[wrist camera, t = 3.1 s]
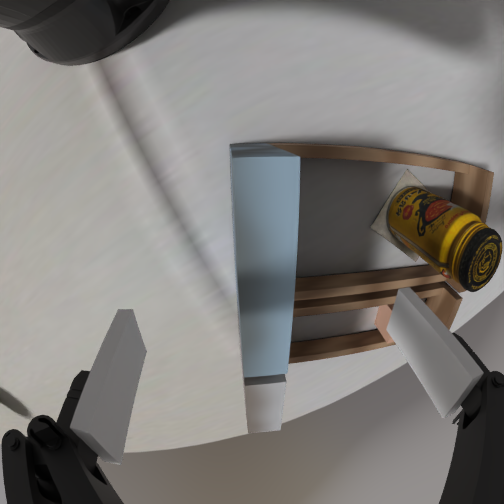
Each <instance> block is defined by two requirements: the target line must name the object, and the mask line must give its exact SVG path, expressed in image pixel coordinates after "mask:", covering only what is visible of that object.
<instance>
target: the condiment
mask: <svg viewBox="0 0 504 504" xmlns="http://www.w3.org/2000/svg"><path fill="white" fill-rule="evenodd" d="M370 228H372V229H373V230H374V231H376V232H377V233H379V234H380V235H381V236H383V237H384V238H385V239H387V240H388V241H389V242H391V243H392V244H393V245H395V246H396V247H397V248H399V249H400V250H401V251H403V252H404V253H405V254H406V255H408V256H409V257H410V258H412V259H413V260H414V261H415V262H416V261H417V259H418V258H419V256H420V257H421V258H422V259H424V260H425V261H426V262H427V263H428V264H430V265H431V266H432V267H433V268H434V269H435V270H437V271H438V272H439V273H440V274H441V275H443V276H444V277H446V278H448V279H454V281H456V282H457V283H459V284H460V285H461V286H462V287H463V288H464V289H465V290H468V291H470V292H476V291H478V290H480V289H481V288H483V287H484V286H485V285H486V284H487V283H488V282H489V281H490V279H491V278H492V277H493V275H494V274H495V272H496V269H497V268H498V265H499V263H500V259H501V254H502V240H501V238H500V235H499V234H498V233H497V232H496V231H495V230H494V229H491V228H489V227H488V226H487V225H486V224H484V223H482V222H481V220H480V218H479V217H478V216H477V215H475V214H474V213H472V212H470V211H468V210H466V209H464V208H462V207H460V206H458V205H456V204H454V203H452V202H450V201H448V200H445V199H443V198H441V197H439V196H437V195H435V194H433V193H430V192H429V191H428V190H427V189H426V188H425V187H424V185H423V184H422V183H421V182H420V181H419V180H418V179H417V178H416V177H415V176H414V175H413V174H412V173H411V172H410V171H409V170H408V169H407V170H406V171H405V173H404V174H403V176H402V178H401V179H400V181H399V183H398V184H397V185H396V187H395V189H394V190H393V192H392V193H391V195H390V197H389V198H388V200H387V201H386V203H385V205H384V206H383V208H382V209H381V211H380V213H379V215H378V217H377V218H376V220H375V221H374V223H373V224H372V226H371V227H370Z"/></svg>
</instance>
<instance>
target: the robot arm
mask: <svg viewBox="0 0 504 504" xmlns="http://www.w3.org/2000/svg"><path fill="white" fill-rule="evenodd" d="M168 2H169V0H0V27H3V28H7V29H11V30H14V32H15V33H16V34H17V35H18V36H19V37H20V38H21V39H22V40H23V41H25V42H27V45H28V46H29V48H30V49H31V51H32V52H33V53H34V54H35V55H37V56H38V57H40V58H41V59H43V60H45V61H49V62H52V63H56V64H60V65H67V66H73V65H82V64H87V63H90V62H93V61H96V60H99V59H101V58H104V57H106V56H108V55H110V54H112V53H114V52H116V51H117V50H119V49H121V48H122V47H124V46H126V45H127V44H128V43H130V42H131V41H133V40H134V39H135V38H137V37H138V36H139V35H140V34H141V33H143V32H144V31H145V30H146V29H147V28H148V27H149V26H150V25H151V24H152V23H153V22H154V21H155V20H156V19H157V17H158V16H159V15H160V14H161V12H162V11H163V10H164V8H165V7H166V5H167V3H168ZM386 330H387V331H388V333H389V334H390V336H391V337H392V339H393V340H394V342H395V343H396V345H397V346H398V348H399V349H400V351H401V352H402V354H403V355H404V357H405V358H406V360H407V361H408V363H409V364H410V366H411V367H412V369H413V371H414V372H415V374H416V375H417V377H418V379H419V380H420V382H421V383H422V385H423V387H424V388H425V390H426V391H427V393H428V395H429V397H430V398H431V400H432V402H433V403H434V405H435V406H436V408H437V410H438V412H439V413H440V415H441V417H442V419H444V418H445V417H447V416H449V415H451V414H453V413H455V411H456V410H457V409H458V408H459V406H460V405H461V406H462V408H463V409H462V411H461V412H460V413H459V414H458V415H457V417H456V418H455V419H454V420H453V423H452V424H455V422H456V421H457V420H458V419H459V422H458V423H457V425H458V431H457V437H456V442H455V447H454V452H453V457H452V461H451V465H450V469H449V473H448V477H447V480H446V483H445V487H444V490H443V493H442V496H441V499H440V502H439V504H504V375H503V374H502V373H500V372H498V371H492V372H490V371H489V370H488V369H487V368H486V366H485V365H484V364H483V363H482V361H481V360H480V359H479V358H478V356H477V355H476V354H475V353H474V352H473V350H472V349H471V348H470V347H469V346H468V344H467V343H466V342H465V341H464V340H463V339H462V338H461V337H460V336H458V335H457V334H455V333H451V332H450V331H449V330H448V328H447V327H446V326H445V325H444V324H443V323H442V322H441V320H440V319H439V318H438V317H437V316H436V315H435V314H434V313H433V312H432V311H431V309H430V308H429V307H428V306H427V305H426V304H425V303H424V302H423V301H422V300H421V299H420V298H419V297H418V296H417V295H416V293H415V292H414V291H413V290H412V289H411V288H410V287H408V288H401V289H398V292H397V296H396V300H395V303H394V307H393V310H392V313H391V316H390V320H389V323H388V326H387V329H386ZM146 352H147V351H146V348H145V345H144V342H143V340H142V337H141V334H140V331H139V328H138V325H137V321H136V318H135V315H134V312H133V309H118V311H117V313H116V315H115V317H114V320H113V322H112V324H111V326H110V328H109V330H108V332H107V334H106V337H105V339H104V341H103V343H102V345H101V348H100V350H99V352H98V355H97V357H96V359H95V362H94V364H93V366H92V369H91V371H83V370H82V371H81V372H80V373H79V374H78V375H77V376H76V377H75V378H74V380H73V382H72V384H71V387H70V390H69V392H68V394H67V398H66V399H65V401H64V404H63V406H62V409H61V412H60V414H59V417H58V420H57V422H55V421H54V420H53V419H52V418H51V417H49V416H46V415H40V416H36V417H35V418H33V419H32V420H31V422H30V423H29V425H28V428H27V435H28V437H25V436H24V435H23V434H22V433H21V432H20V431H18V430H16V429H12V430H9V431H7V432H6V433H5V434H4V436H3V438H2V463H3V476H4V485H5V493H6V499H7V504H124V503H123V502H122V501H121V499H120V498H119V496H118V495H117V493H116V492H115V490H114V489H113V487H112V486H111V484H110V483H109V481H108V479H107V478H106V476H105V474H104V473H103V471H102V470H101V468H100V466H99V465H98V464H97V457H98V456H99V457H100V458H101V459H102V460H103V461H105V462H109V463H114V464H120V465H121V463H122V458H123V452H124V447H125V442H126V436H127V431H128V427H129V422H130V417H131V413H132V408H133V404H134V399H135V395H136V391H137V387H138V383H139V379H140V375H141V371H142V367H143V363H144V359H145V356H146Z"/></svg>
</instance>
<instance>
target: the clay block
mask: <svg viewBox="0 0 504 504" xmlns="http://www.w3.org/2000/svg"><path fill="white" fill-rule="evenodd" d="M393 307H394V304H388V305H382V306H379V309H378V313H377V316H376V319H375V323H374V324H375V325H376V327H377V328H378V330H379V331H380V333H381V334H382V336H383V338H384V339H385V341H386V342H387V344H388V343H392V342H394V340H393V339H392V337H391V336H390V334H389V333H388V331H387V330H386V329H387V326H388V323H389V320H390V316H391V313H392V310H393Z"/></svg>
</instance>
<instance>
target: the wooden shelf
mask: <svg viewBox="0 0 504 504" xmlns="http://www.w3.org/2000/svg"><path fill="white" fill-rule="evenodd" d="M300 158H326V159H348V160H363V161H376V162H387V163H397V164H406V165H414V166H422V167H429V168H436V169H443V170H449V171H455V177H454V185H453V192H452V199H451V202H452V203H454V204H456V205H458V206H460V207H462V208H464V209H466V210H468V211H470V212H472V213H474V214H475V215H477V216H478V217H479V218H480V220H481V222H482V223H484V224H485V222H486V218H487V213H488V208H489V202H490V196H491V190H492V183H493V176H494V172H491V171H488V170H485V169H482V168H479V167H476V166H473V165H470V164H467V163H463V162H459V161H455V160H450V159H445V158H439V157H434V156H428V155H422V154H416V153H409V152H402V151H395V150H386V149H378V148H368V147H357V146H344V145H328V144H303V143H250V144H230V169H231V193H232V215H233V236H234V255H235V273H236V290H237V303H238V315H239V327H240V339H241V350H242V361H243V372H244V377H257V376H268V375H278V374H286V373H287V372H288V363H289V353H290V342H291V331H292V320H293V307H294V301H296V300H307V299H317V298H326V297H335V296H344V295H353V294H361V293H368V292H376V291H383V290H390V289H397V288H404V287H411V286H417V285H423V284H429V283H435V282H441V281H447V282H448V283H449V284H450V285H451V286H453V287H454V288H455V289H456V290H457V291H458V292H459V293H460V292H464V291H466V290H465V289H464V288H463V287H462V286H461V285H460V284H459V283H457V282H456V281H454V279H448V278H446V277H444V276H443V275H441V274H440V273H439V272H438V271H437V270H435V269H434V268H433V267H432V266H431V265H426V266H417V267H409V268H400V269H390V270H381V271H371V272H361V273H350V274H339V275H328V276H316V277H304V278H296V263H297V245H298V223H299V194H300Z"/></svg>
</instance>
